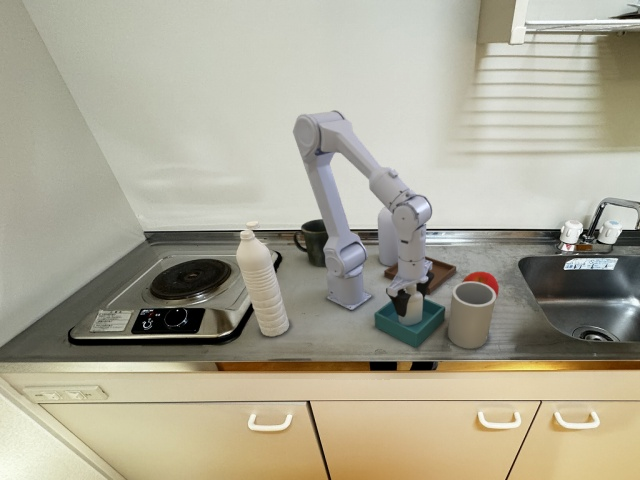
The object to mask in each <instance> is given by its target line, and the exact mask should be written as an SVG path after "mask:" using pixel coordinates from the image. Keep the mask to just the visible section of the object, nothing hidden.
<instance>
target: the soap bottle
mask: <svg viewBox="0 0 640 480" xmlns="http://www.w3.org/2000/svg"><path fill="white" fill-rule="evenodd" d="M391 215H393V214H392V213H391V212H390V211H389V210H388V209H387V208H386V207H385V206H384V207H382V208H381V209H380V211H379V213H378V214H377V237H378V239H377V240H378V257H379V259H378V260H379V262H380V263H381V264H382V265H384V266H389V267H391V266H393V265H394V264H396V263H397V262H398V236H397V231H396V228H395V226H394V224H393V222H392V219H391Z"/></svg>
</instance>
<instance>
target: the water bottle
mask: <svg viewBox="0 0 640 480" xmlns="http://www.w3.org/2000/svg"><path fill="white" fill-rule="evenodd" d="M245 226H246V229H245V230H242V231H240V232H239V234H240V237H239V238H240V242H239V244H238V247H237V250H236V252H235V260H236V262H237V265H238V267H239V270H240V273H241V276H242V278H243V283H244V284H245V287H246V291H247V294H248V297H249V300H250V303H251V304H252V308H253V310H254V314H255V317H256V321H257V323H258V327H259V329H260V331H261V334H262V335H263V336H265V337H277V336H280V335H283V334H284V333H286V332H287V331H288V330H289V328H290V322H289V317H288V315H287V311H286V310H287V309H286V306H285V304H284V299H283V297H282V292H281V290H280V284H279V281H278V278H277V274H276V271H275V267H274V264H273V263H274V262H273V260H272V255H271V251H270V250H269V248H268V246H267V245H265V244H264V243H263V242H261V241H260V240H259V239H258V238H257V237H255V236H256V234H255V233H254V231H253V230H258V229H260V226H261V225H260V222H259V221H257V220H251V221H247V222H246V223H245Z"/></svg>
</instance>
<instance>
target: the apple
mask: <svg viewBox="0 0 640 480" xmlns="http://www.w3.org/2000/svg"><path fill="white" fill-rule="evenodd" d="M468 281H474V282H480V283H483V284H486V285H488V286H489V287H491V288H492V289H493V290H494V291H495V293H496V300H495V302H496V301H497V299H498V295H499V290H500V287H499V283H498V280H497V278H496V277H495V276H494V275H492V274H491V273H490V272H486V271H474V272H471V273H469V274H467V275H466V276H465V277H464V278H463V280H462V282H468Z"/></svg>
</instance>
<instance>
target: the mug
mask: <svg viewBox="0 0 640 480" xmlns="http://www.w3.org/2000/svg"><path fill="white" fill-rule="evenodd" d="M300 229H301V230H299V231H295V232H294V234H293V236H292V239H293V242H294V245H295V246H296V248H297V249H298V250H299V251H300V252H301V253H302V252H303V253H305V254H307V258H308V262H309V263H310V264H311V265H312V266H315V267H326V263H325V254H324V251H323V249H324V247H325V245H326V243H327V241H328V238H329V236H328V233H327V230H326V227H325V225H324V222H323V219H322V218H319V219H313V220H309V221H306V222H304V223H303V224H301V226H300ZM297 236H303V238H304V243H305V247H304V246H302V245H301V244H300V242H299V240H298V237H297Z"/></svg>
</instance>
